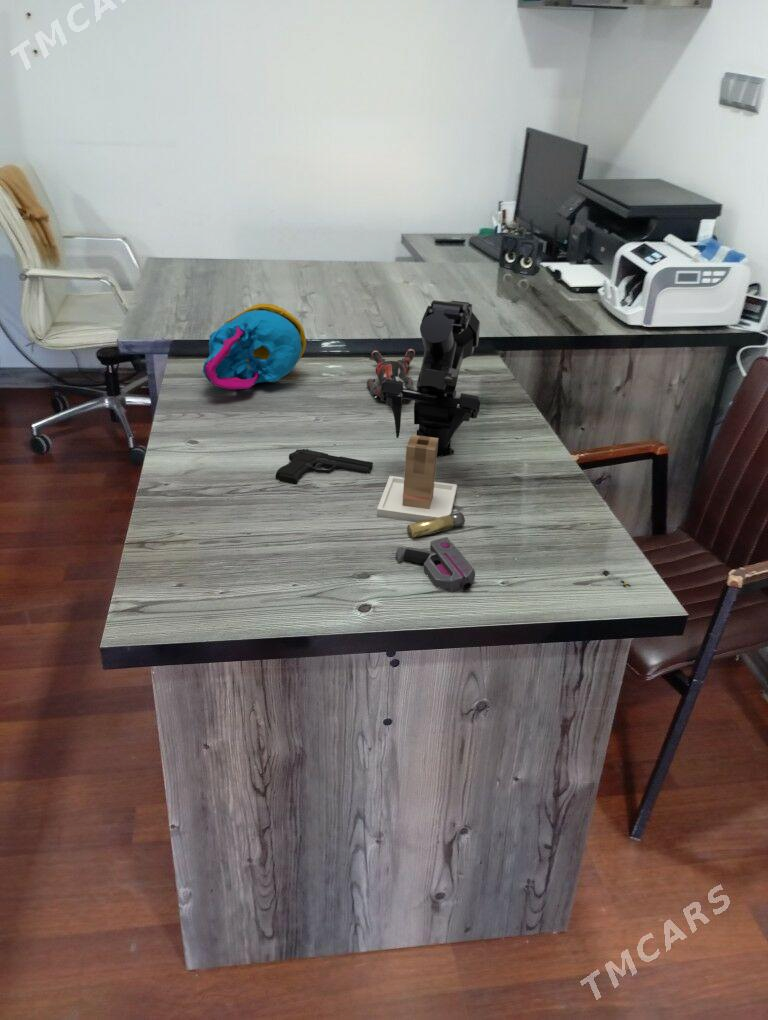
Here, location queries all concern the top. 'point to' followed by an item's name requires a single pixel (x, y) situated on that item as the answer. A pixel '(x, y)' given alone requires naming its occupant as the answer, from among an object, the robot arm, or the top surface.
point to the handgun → (318, 465)
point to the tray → (394, 509)
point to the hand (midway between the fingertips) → (421, 441)
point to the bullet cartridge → (435, 525)
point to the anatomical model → (254, 347)
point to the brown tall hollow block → (420, 471)
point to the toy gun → (441, 564)
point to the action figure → (391, 371)
